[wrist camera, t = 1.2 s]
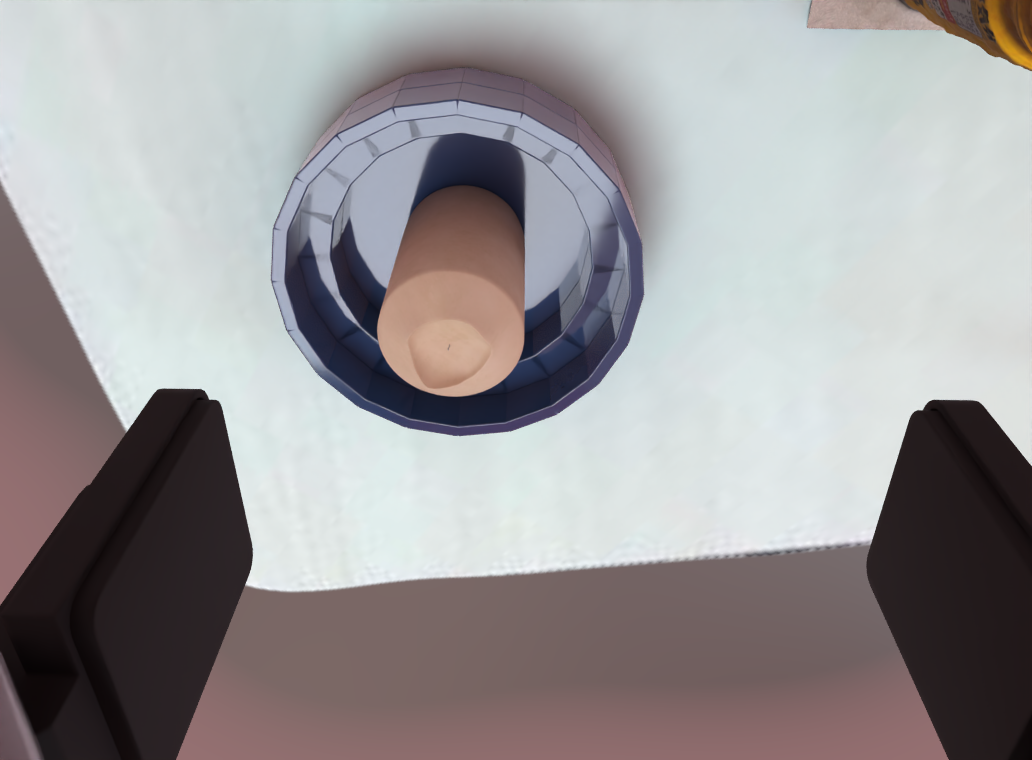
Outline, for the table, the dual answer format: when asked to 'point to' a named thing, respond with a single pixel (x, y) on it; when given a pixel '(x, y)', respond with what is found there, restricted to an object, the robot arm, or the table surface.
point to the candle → (456, 294)
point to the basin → (410, 179)
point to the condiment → (939, 21)
